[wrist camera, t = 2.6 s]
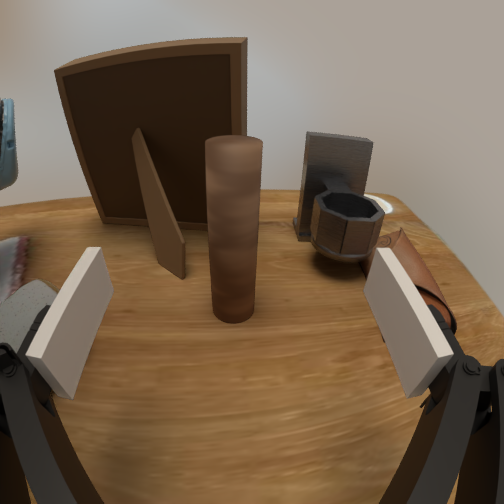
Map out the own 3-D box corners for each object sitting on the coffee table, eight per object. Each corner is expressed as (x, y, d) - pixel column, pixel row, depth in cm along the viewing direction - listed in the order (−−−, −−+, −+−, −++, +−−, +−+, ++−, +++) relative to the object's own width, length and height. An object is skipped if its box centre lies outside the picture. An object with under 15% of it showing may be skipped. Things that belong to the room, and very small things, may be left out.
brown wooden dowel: (204, 311, 29) (193, 143, 19) (228, 289, 31) (228, 133, 22) (238, 329, 27) (241, 152, 18) (261, 304, 30) (273, 140, 21)
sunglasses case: (345, 241, 40) (378, 206, 36) (378, 264, 42) (409, 232, 39) (384, 348, 25) (438, 303, 22) (420, 364, 27) (467, 327, 24)
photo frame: (115, 209, 45) (98, 57, 31) (246, 218, 44) (253, 41, 30) (66, 264, 33) (24, 68, 19) (229, 286, 32) (232, 26, 17)
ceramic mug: (98, 345, 24) (69, 280, 20) (49, 410, 18) (-1, 352, 13) (35, 310, 27) (8, 253, 22) (-8, 358, 20) (-46, 303, 16)
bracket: (376, 282, 33) (409, 168, 25) (310, 284, 32) (332, 158, 24) (344, 224, 44) (360, 133, 36) (292, 222, 44) (302, 127, 36)
